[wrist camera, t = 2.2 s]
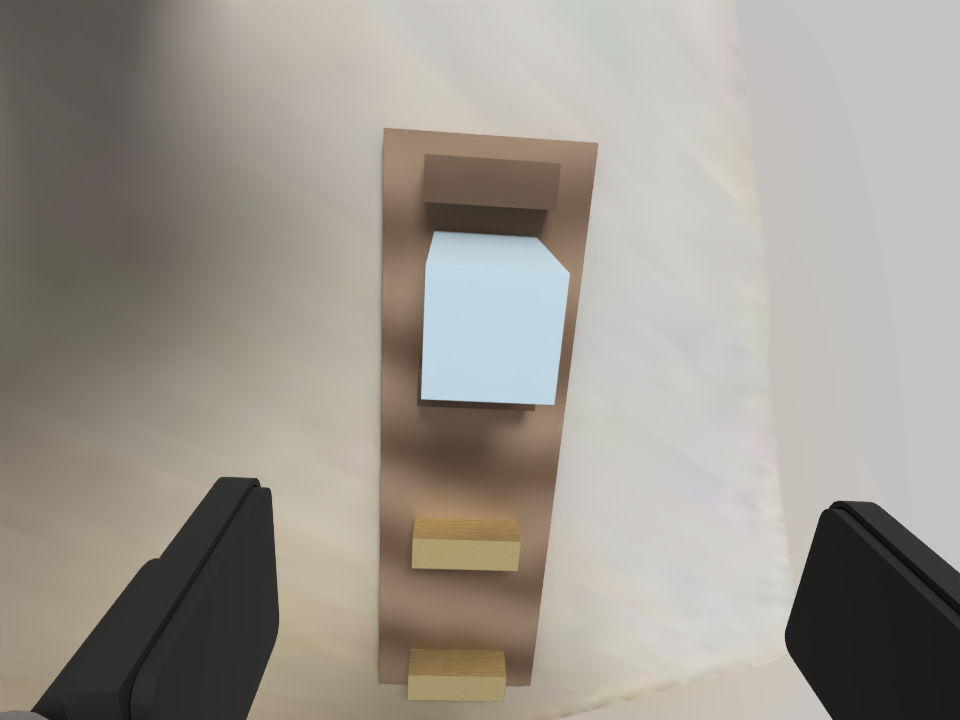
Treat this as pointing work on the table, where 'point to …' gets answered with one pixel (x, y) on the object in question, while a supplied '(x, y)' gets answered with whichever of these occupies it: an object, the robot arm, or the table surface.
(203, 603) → the robot arm
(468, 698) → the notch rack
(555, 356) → the painted block
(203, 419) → the table surface
